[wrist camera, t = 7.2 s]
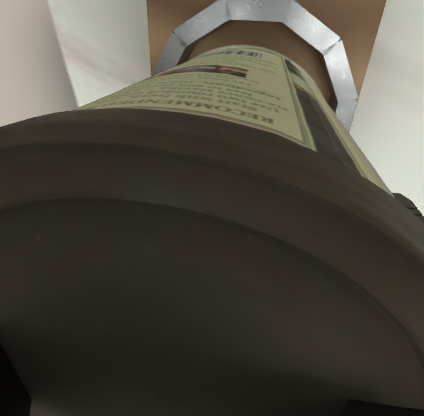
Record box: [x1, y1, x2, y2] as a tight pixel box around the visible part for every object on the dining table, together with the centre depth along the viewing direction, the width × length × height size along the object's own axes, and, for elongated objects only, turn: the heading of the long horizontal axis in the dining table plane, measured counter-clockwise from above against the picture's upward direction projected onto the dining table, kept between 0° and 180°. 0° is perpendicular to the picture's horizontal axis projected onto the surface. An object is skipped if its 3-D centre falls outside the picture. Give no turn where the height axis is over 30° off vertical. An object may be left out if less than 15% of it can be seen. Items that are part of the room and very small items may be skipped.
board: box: [147, 0, 386, 104], centre depth 24 cm, size 16×16×1 cm
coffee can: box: [0, 45, 424, 416], centre depth 11 cm, size 10×10×14 cm
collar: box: [151, 0, 358, 133], centre depth 23 cm, size 14×14×3 cm
